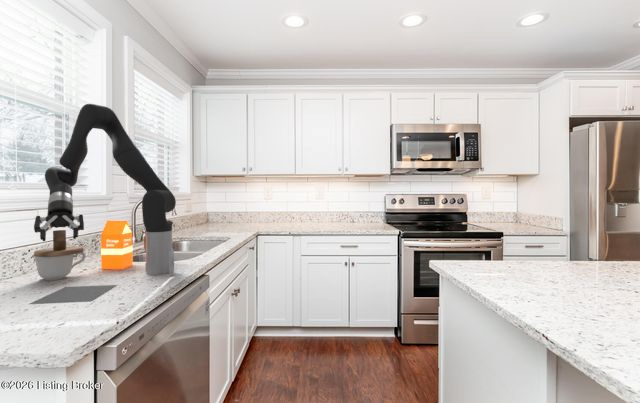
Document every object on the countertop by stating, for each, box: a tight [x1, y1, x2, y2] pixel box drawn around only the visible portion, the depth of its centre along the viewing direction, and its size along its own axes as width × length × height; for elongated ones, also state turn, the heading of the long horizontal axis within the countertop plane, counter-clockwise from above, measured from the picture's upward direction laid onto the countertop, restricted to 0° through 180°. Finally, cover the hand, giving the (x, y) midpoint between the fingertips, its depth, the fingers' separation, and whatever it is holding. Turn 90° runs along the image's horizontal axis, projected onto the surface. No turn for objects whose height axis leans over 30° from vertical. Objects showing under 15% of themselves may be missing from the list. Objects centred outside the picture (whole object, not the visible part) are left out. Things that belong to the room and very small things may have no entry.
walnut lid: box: [33, 229, 85, 257], centre depth 115 cm, size 14×14×8 cm
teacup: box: [32, 251, 86, 281], centre depth 116 cm, size 12×15×10 cm
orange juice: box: [100, 220, 134, 270], centre depth 136 cm, size 8×9×20 cm
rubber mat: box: [29, 284, 118, 305], centre depth 98 cm, size 16×16×1 cm
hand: (59, 238), depth 114 cm, fingers open, 8 cm apart
